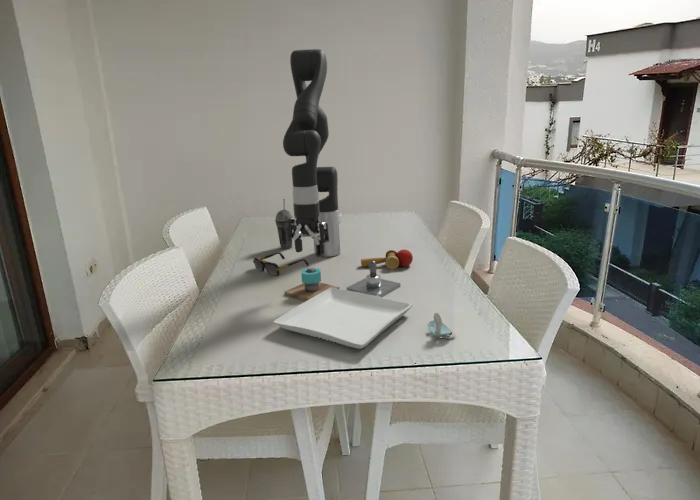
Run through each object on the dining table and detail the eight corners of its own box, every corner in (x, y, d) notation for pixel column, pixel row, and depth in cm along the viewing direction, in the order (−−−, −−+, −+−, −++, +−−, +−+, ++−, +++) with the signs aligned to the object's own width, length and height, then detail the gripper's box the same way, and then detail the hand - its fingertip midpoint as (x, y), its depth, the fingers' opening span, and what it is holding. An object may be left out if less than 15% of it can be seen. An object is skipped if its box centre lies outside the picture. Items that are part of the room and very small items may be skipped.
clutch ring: (298, 281, 149) (297, 272, 148) (310, 275, 154) (310, 266, 153) (311, 285, 146) (311, 275, 145) (324, 279, 150) (324, 270, 149)
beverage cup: (274, 249, 197) (269, 200, 191) (283, 244, 203) (279, 197, 197) (290, 251, 194) (286, 201, 188) (298, 245, 200) (295, 197, 194)
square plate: (363, 359, 112) (363, 344, 110) (272, 334, 126) (270, 320, 124) (413, 314, 133) (413, 301, 132) (331, 297, 147) (330, 285, 146)
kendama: (362, 274, 168) (414, 266, 167) (359, 257, 168) (411, 248, 166) (363, 271, 176) (413, 263, 174) (360, 254, 175) (410, 246, 174)
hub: (346, 290, 151) (345, 263, 148) (369, 279, 160) (368, 252, 157) (378, 298, 144) (377, 270, 141) (400, 286, 153) (400, 258, 150)
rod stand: (284, 294, 150) (282, 271, 148) (311, 282, 159) (309, 260, 157) (313, 303, 143) (311, 279, 141) (339, 290, 152) (338, 267, 149)
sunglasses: (309, 266, 176) (308, 253, 174) (276, 278, 165) (274, 264, 164) (284, 259, 185) (283, 247, 183) (251, 270, 174) (250, 257, 173)
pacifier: (447, 327, 125) (425, 329, 124) (448, 304, 123) (426, 307, 122) (459, 340, 118) (436, 343, 117) (461, 316, 116) (437, 319, 115)
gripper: (279, 200, 144) (284, 253, 149) (315, 205, 135) (318, 261, 140) (297, 196, 149) (301, 247, 154) (332, 200, 141) (335, 254, 145)
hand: (309, 253), depth 147 cm, fingers open, 8 cm apart
